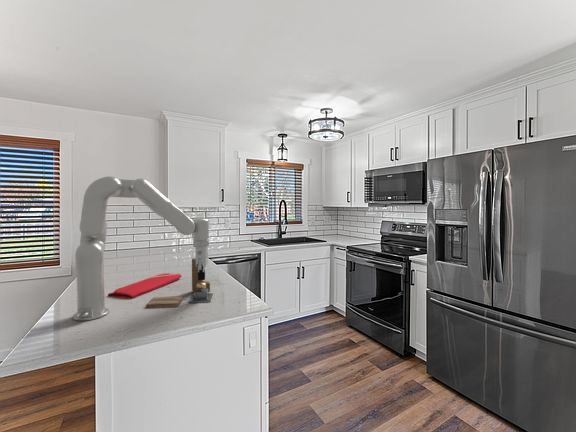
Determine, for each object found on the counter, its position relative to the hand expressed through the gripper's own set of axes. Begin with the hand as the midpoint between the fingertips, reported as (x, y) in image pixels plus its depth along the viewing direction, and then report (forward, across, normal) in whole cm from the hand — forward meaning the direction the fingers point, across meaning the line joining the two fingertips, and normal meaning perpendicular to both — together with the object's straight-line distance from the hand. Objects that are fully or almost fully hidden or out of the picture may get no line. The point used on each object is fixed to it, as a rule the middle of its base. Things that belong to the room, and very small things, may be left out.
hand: (201, 279), depth 145 cm
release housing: (+10, 0, 0) cm, 10 cm away
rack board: (+9, -5, +16) cm, 19 cm away
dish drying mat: (+10, +26, +33) cm, 43 cm away
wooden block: (+10, +13, +2) cm, 16 cm away
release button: (+4, 0, 0) cm, 4 cm away
